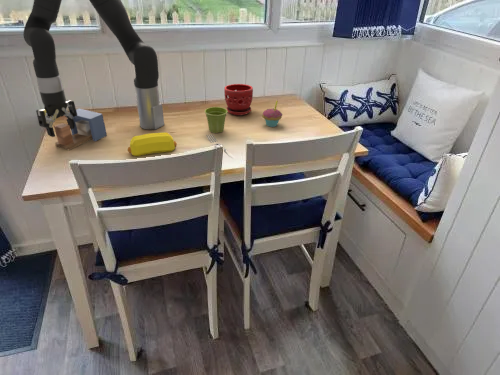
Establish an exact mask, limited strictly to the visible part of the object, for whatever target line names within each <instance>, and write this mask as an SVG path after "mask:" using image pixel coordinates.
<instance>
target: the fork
mask: <svg viewBox="0 0 500 375" xmlns="http://www.w3.org/2000/svg"><path fill="white" fill-rule="evenodd" d="M206 138H207V139H208V141H209V142H210V143H212V144H213V143H216V142H218V140H217V139H216V137H215V136H214V135H213V134H208V135H206ZM217 144H218V145H217V146H220V145H222V144H220V143H217ZM224 150H225V151H226V150H227V148H225V147H224ZM224 150H223V151H224ZM225 151H224V152H225Z"/></svg>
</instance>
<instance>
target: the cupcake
mask: <svg viewBox="0 0 500 375" xmlns="http://www.w3.org/2000/svg"><path fill="white" fill-rule="evenodd" d="M278 100H279V99H276V101H275V104H274V108H267V109H266V110H264V111H263V112H262V118H263V119H264V121H265V124H266V126H267V127H271V128H273V127H274V128H275V127H277V126H278V124H279V122H280V121H281V119H282V117H283V113H282V112H281V111H280V110H279V109H277V105H278Z"/></svg>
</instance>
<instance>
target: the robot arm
mask: <svg viewBox="0 0 500 375" xmlns="http://www.w3.org/2000/svg"><path fill="white" fill-rule="evenodd" d="M89 2H90V4H91V5H92V6H93V9H94V10H95V11H96V12H97V15H98V16H99V17H100V18H101V20H102V21H103V22H104V24H105V25H106V26H107V28H108V29H109V30H110V31H111V33H113V35H114V36H115V37H116V39H117V41H118V42H119V43H120V45H121V47H122V49H123V51H124V53H125V55H126V57H127V59H128V60H129V61H130V63H131V64H132V65H133V66H134V71H135V72H134V73H135V77H134V78H133V84H134V85H133V86H134V93H135V99H136V105H137V112H138V113H137V114H138V118H139V125H140V128H142V129H144V130H158V129H159V128H161V127H163V126H165V120H164V109H163V104H162V103H161V101H160V100H161V99H160V92H159V79H160V78H159V76H160V75H159V63H158V56H157V52H156V50H155V49H154V48H153V47H152V46H150V45H149V44H146V43H145V42H144V41H143V40H142V38H141V37H140V35H138V33H137V32H136V30H135V29H134V26H133V25H132V23H131V21H130V20H131V19H130V17H129V14H128V12H127V10H126V7H125V5H124V3H123V1H122V0H89ZM61 4H62V0H33V4H32V9H31V12H30V13H29V16H28V18H27V20H26V22H25V25H24V29H23V39H24V41H25V43H26V44H27V45H28V46H29V47H31V49H32V50H31V51H32V53H33V54H32V55H33V58H34V59H33V60H32V64H33V65H32V66H33V69H34V73H35V77H36V83H37V87H38V92H39V95H40V98H41V102H42V104H43V106H44V108H43V109H36V110H35V112H36V115H37V116H36V117H37V121H38V125H39V127H42V128H45V129H46V130H45V131H46V133H47V135H48V136H49V137H51V138H54V137H56V133H55V129H54V125H53V124H54V123H55V121H56V120H57V119H59V118H61V117H66V121H67V122H66V124H68V125H69V126H70V130H71V129H74V127H75V125H74V120H73V119H74V117H75V116H77V111H76V109H77V108H76V105H75V101H74V100H70V99H67V98H66V94H65V91H64V90H65V89H64V85H63V81H62V79H61V76H60V73H59V69H58V68H59V67H58V63H57V61H56V60H57V56H56V55H57V54H56V53H57V52H56V45H55V40H54V38H53V35H52V33H50V29H51V27H52V24H53V23H55V22H56V21H57V20H58V16H59V15H58V14H59V12H60V8H61ZM67 109H68V110H67Z"/></svg>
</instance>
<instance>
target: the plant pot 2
mask: <svg viewBox="0 0 500 375" xmlns="http://www.w3.org/2000/svg"><path fill="white" fill-rule="evenodd" d="M253 94H254V88H253V86H251V85H249V84H246V83H245V84H244V83H233V84H228V85H225V87H224V100H225V103H226V106H227V107H226V109H227V111H228V112H227V113H229V114H231V115H234V116H246V115H248V114H249V113H251V111H252V108H251V105H252V101H253V98H254V96H253Z"/></svg>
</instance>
